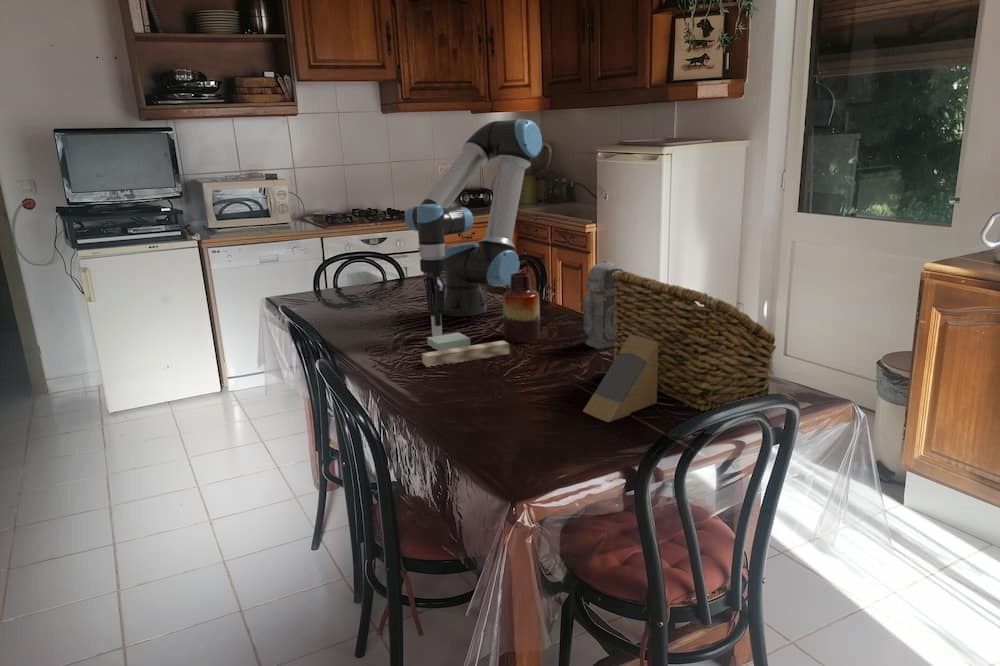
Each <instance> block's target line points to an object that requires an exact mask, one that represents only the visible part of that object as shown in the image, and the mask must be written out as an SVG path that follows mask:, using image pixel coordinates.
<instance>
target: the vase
mask: <svg viewBox="0 0 1000 666" xmlns="http://www.w3.org/2000/svg"><path fill="white" fill-rule="evenodd" d="M530 275H531V274H530V273H528V272H518V273H513V274H511V283H510V284H509V286H510V287H509V288H510V289H509V290H507V291H505V292H503V294H502V319H503V320H502V321H503V322H502V323H503V339H504V341H506V342H507V341H508V342H510V343H511V342H512V343H520V344H521V343H530V342H531V343H532V342H535V341H538V340H540V339H541V316H540V315H541V314H540V312H541V310H540V294H539V292H538V291H537V290H534V289H532V286H531V278H530Z"/></svg>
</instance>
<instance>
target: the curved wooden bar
mask: <svg viewBox="0 0 1000 666" xmlns="http://www.w3.org/2000/svg"><path fill="white" fill-rule="evenodd" d="M510 353H511V352H510V343H509V341H508V342H507V340H498V341H492V342H485V343H478V344H473V345H472V344H471V346H465V347H459V348H453V349H446V350H440V351H436V350H435V351H428V352H422V353H421V358H422V365H423V364H424V365H425V366H426V367H425V366H424V365H423V366H424V367H425V368H427V367H429V368H431V367H430V366H435V367H437V366H436V365H441V366H444V365H443V364H447V365H451V364H450V363H453V364H457V363H458V362H459V363H463V362H464V361H465V362H469V361H475V360H481V359H487V358H493V357H500V356H503V355H504V356H505V355H510Z"/></svg>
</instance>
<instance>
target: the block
mask: <svg viewBox="0 0 1000 666" xmlns="http://www.w3.org/2000/svg"><path fill="white" fill-rule="evenodd" d="M426 340H427V346H428V345H429V346H431V347H432V348H431V347H430V348H431V349H433V348H434V349H436V350H437V351H440V350H446V349H453V348H459V347H465V346H472V344H471V343H472V342H471V337H470V336H466V335H465V334H463V333H461V332H453V333H452V332H451V333H447V334H442V335H440V336H429V337H426ZM429 346H428V347H429ZM434 349H433V350H434ZM436 350H435V351H436Z"/></svg>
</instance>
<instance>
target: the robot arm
mask: <svg viewBox="0 0 1000 666" xmlns="http://www.w3.org/2000/svg"><path fill="white" fill-rule="evenodd" d="M542 146H543V138H542V134H541V130H540V128H539V126H538V125H537V124H536V123H535V122H534V121H533V120H531V119H521V118H519V119H511V120H510V119H509V120H494V121H491V122H488V123H486V124H484V125H483V126H481V127H480V128H478V130H476V131H475V132H474V133H472V135H471V136H470V137H469V138H468V139H467V140H466V141H465V143H464V144H463V145H462V148H461V153H460V154H459V156H458V157H457V158H456V159H455V160H454V162H453V163H452V164H451V165H450V167H449V168H448V169H447V170H446V171H445V173H444V174H443V175H442V176H441V178H440V179H439V181H438V182H437V183H436V184H435V185H434V187H433V188H432V189H431V191H429V193H428V194H427V195H426V197H425V198H424V199H423V201H421V203H420V204H419V205H418V206H411V207H409V208H408V209H407V210H406V212H405V215H404V222H405V225H406V226H407V228H408V229H409V230H411V231H413V232H417V234H418V237H417V238H418V247H417V251H418V252H419V257H420V260H419V267H420V268H419V269H420V272H422V273H424V274H425V275H426V277H425V278H423V285H424V288H425V290H424V291H425V295H426V304H427V311H429V314H430V321H431V335H432V336H431V337H434V336H440V335H443V325H442V323H443V322H442V321H443V320H442V315H445V316H448V317H459V318H461V317H473V316H478V315H482V314H484V313H486V312H487V303H486V301H485V298H484V295H483V293H482V290H481V285H487V286H492V287H505V286H508V285H511V274H513V273H519V270H520V263H521V262H520V260H519V259H520V258H519V255H518V254H517V252H515V251H516V246H515V245H514V243H513V237H514V231H515V226H516V225H515V224H516V219H517V213H518V209H519V203H520V199H521V195H522V189H523V182H524V176H525V171H526V169H528V168H529V167H531V165H532V159H533V158H535V157H537V156H538V155H539V154H540V153H541V150H542V148H543V147H542ZM492 159H493V160H494V159H495V160H496V162H497V164H498V169H497V174H496V179H495V184H494V189H493V195H492V201H491V205H490V213H489V216H488V222H487V228H486V233H485V236H484V237H483V238H482V239H480V240H479V243H478V242H468V243H460V244H454V245H448V246H446V243H445V242H446V241H445V236H448V235H455V234H462V233H466V232H468V231H470V230H471V229H472V227H473V225H474V216H473V213H472V212H471V210H470V209H468V208H467V207H460V206H459V207H451V208H450V206H451V205H452V204H453V202H454V201H455V200H456V199H457V198H458V196H459V195H460V194H461V192H462V191H463V189H465V187H466V186H467V184H468V183H469V182H470V181H471V179H472V178H473V177H474V175H476V173H477V172H478V170H479V169H480V167H484V166H486V165H487V163H488V162H489V161H491V160H492ZM442 272H444V281H445V282H444V283H443V277H442V275H441V273H442Z"/></svg>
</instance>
